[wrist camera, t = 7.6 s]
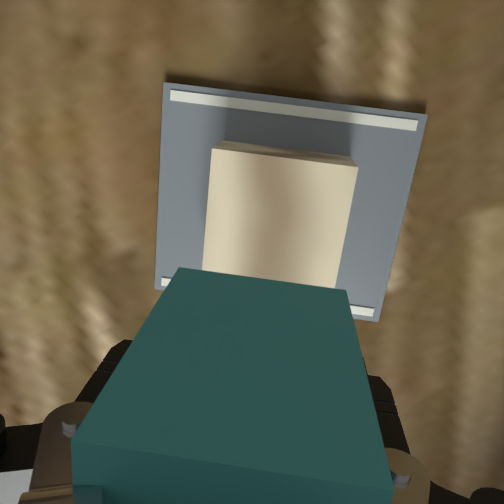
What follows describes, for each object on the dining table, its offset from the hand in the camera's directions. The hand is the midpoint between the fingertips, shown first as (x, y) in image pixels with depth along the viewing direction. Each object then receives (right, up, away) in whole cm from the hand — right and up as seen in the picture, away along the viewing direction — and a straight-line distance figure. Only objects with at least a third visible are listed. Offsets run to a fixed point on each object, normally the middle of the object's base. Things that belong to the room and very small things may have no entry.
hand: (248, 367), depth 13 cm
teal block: (0, 0, +1) cm, 1 cm away
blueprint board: (+2, +6, +17) cm, 18 cm away
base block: (+2, +6, +16) cm, 17 cm away
